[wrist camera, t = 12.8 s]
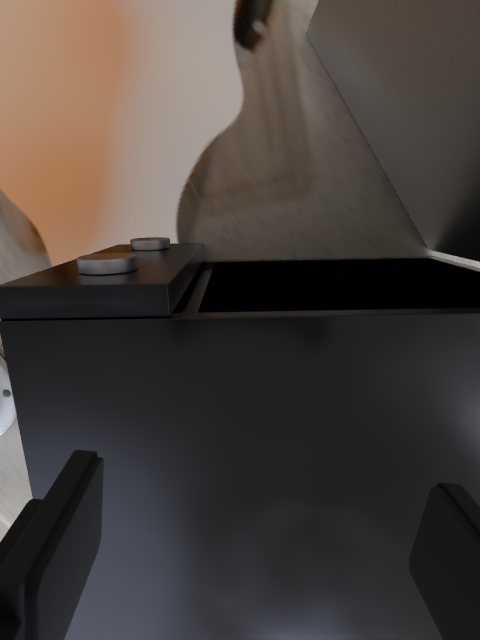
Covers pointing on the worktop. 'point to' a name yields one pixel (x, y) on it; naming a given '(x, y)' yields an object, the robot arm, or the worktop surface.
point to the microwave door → (414, 103)
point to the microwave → (250, 432)
